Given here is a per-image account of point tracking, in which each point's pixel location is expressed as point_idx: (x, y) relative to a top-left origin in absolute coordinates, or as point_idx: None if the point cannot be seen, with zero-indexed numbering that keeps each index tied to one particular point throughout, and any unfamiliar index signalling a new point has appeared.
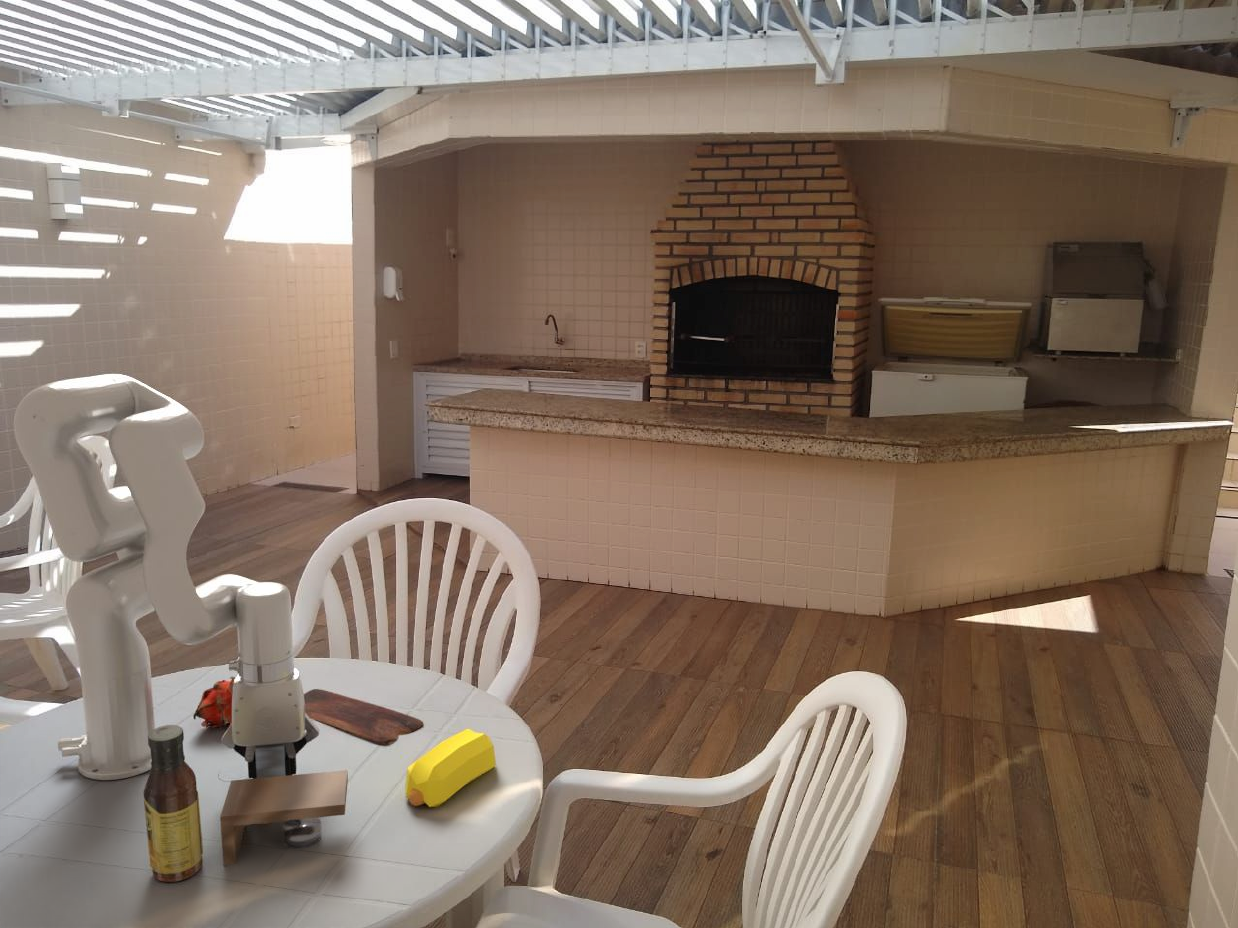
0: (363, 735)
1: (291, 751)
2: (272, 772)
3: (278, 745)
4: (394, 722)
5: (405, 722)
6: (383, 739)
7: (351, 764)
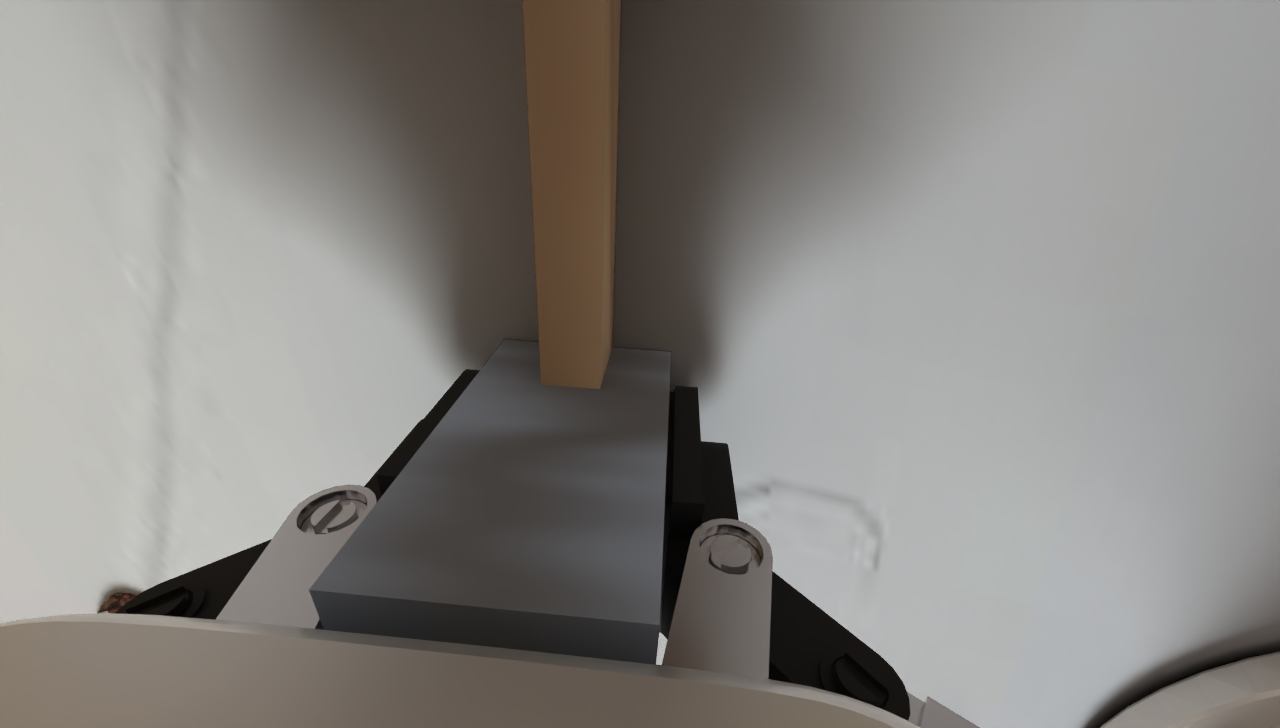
0: None
1: (312, 535)
2: (548, 410)
3: (384, 618)
4: None
5: None
6: None
7: (216, 488)
